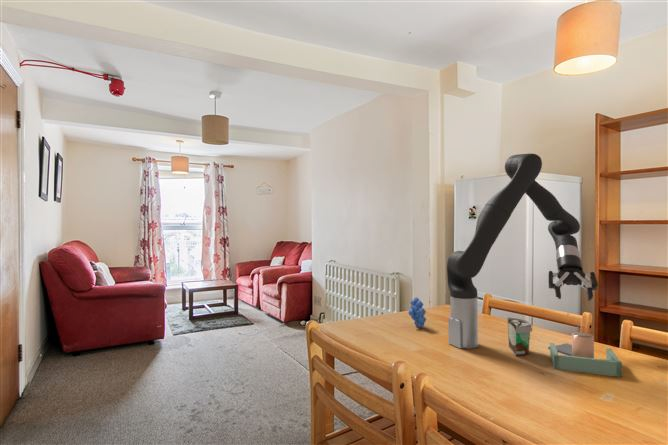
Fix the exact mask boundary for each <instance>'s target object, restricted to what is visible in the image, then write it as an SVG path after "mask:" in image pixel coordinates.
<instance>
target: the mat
mask: <svg viewBox="0 0 668 445" xmlns="http://www.w3.org/2000/svg"><path fill="white" fill-rule="evenodd" d="M555 346H556V349H557V352H558V353H560V354H562V355H568V356H572V344H570V343H567V342H566V343H561V344H555ZM547 348H548V350H550V346H548V347H547Z"/></svg>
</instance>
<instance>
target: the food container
mask: <svg viewBox="0 0 668 445" xmlns="http://www.w3.org/2000/svg"><path fill="white" fill-rule="evenodd" d="M506 322H507V334H508V348H509V349H510V351H511V352H512V354H513V355H514V356H515V357H526V356H528V355H529V353H530V352H529V351H530V339H531V338H530V337H531V332H532V331H533V327H532V324H531V322H530V321H527V320H525V319H523V318H522V319H521V318H517V317H516V318H515V317H507V320H506Z"/></svg>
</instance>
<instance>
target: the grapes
mask: <svg viewBox="0 0 668 445" xmlns="http://www.w3.org/2000/svg"><path fill="white" fill-rule="evenodd" d="M410 305H411V306H410V307H409V311H408V315H409V316H410V318H411V319H412V320H413V321H414V322H413V323H414V326H416V327H417V326H419V328H424V326H425V323H426V321H427V318H426V317H425V315H426V312H427V311H426V310H425V308H424V303H423V302H422V301H421V300H420V299H419V298H418V297H416V296H415V297H414V298H413V299H412V300H411V301H410Z"/></svg>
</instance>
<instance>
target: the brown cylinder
mask: <svg viewBox="0 0 668 445" xmlns="http://www.w3.org/2000/svg"><path fill="white" fill-rule="evenodd" d="M571 345H572V356H577V357H586V358H595V336H594V335H593V334H590V333H585V332H572V333H571Z"/></svg>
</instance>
